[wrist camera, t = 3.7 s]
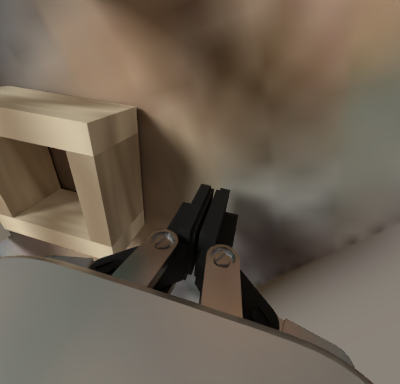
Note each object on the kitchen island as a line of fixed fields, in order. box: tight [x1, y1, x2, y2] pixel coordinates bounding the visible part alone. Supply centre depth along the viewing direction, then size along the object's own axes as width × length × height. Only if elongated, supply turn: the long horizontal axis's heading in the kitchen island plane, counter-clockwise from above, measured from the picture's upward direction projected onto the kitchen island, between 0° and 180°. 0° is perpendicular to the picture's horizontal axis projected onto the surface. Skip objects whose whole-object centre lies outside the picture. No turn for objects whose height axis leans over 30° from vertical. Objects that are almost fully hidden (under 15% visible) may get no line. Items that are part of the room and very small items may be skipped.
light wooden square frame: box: [0, 86, 144, 258], centre depth 14 cm, size 9×9×4 cm
